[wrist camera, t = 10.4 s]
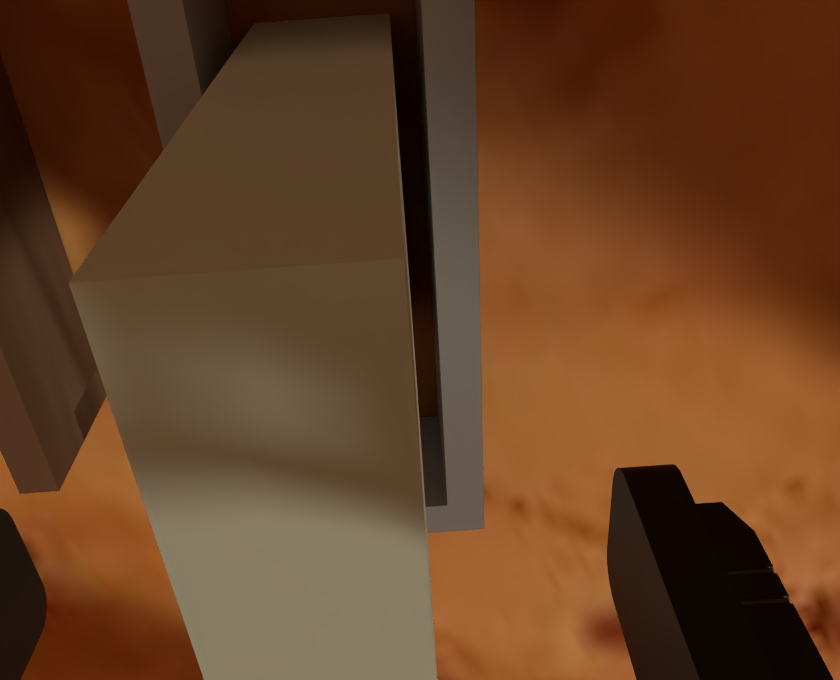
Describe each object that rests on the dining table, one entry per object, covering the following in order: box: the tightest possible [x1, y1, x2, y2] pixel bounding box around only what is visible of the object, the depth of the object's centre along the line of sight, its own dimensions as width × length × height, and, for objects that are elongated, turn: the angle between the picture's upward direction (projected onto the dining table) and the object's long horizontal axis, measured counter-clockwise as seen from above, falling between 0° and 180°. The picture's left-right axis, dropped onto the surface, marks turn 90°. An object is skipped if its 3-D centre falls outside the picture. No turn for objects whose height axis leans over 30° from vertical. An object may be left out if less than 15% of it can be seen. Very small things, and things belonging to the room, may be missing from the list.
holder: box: [127, 0, 484, 533], centre depth 19 cm, size 6×18×4 cm, turn 3°
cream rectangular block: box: [69, 13, 437, 680], centre depth 15 cm, size 3×8×13 cm, turn 3°
